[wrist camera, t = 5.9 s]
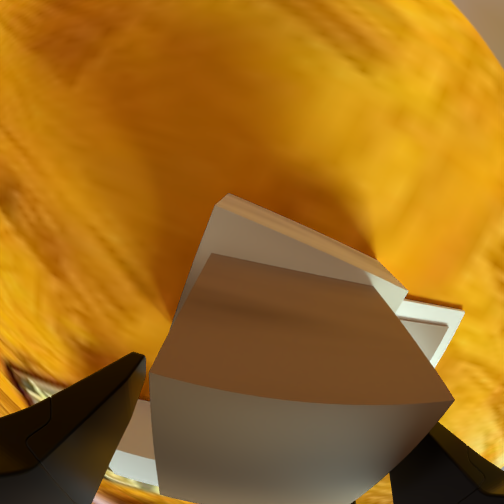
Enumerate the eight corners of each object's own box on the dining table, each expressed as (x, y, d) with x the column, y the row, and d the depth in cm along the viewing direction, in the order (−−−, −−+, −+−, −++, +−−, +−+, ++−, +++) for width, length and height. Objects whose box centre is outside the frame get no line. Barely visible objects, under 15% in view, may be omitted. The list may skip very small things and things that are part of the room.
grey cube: (188, 442, 19) (176, 490, 14) (132, 430, 19) (114, 473, 14) (180, 406, 17) (163, 461, 13) (117, 393, 17) (92, 441, 13)
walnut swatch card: (415, 390, 16) (418, 395, 16) (333, 388, 16) (335, 393, 16) (462, 309, 14) (466, 313, 14) (378, 293, 14) (382, 297, 13)
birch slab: (304, 371, 16) (311, 420, 12) (178, 326, 15) (156, 371, 12) (374, 258, 14) (408, 291, 10) (229, 192, 13) (214, 204, 9)
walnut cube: (322, 398, 12) (342, 509, 6) (193, 378, 11) (160, 494, 6) (373, 285, 10) (454, 400, 4) (211, 252, 10) (148, 372, 4)
